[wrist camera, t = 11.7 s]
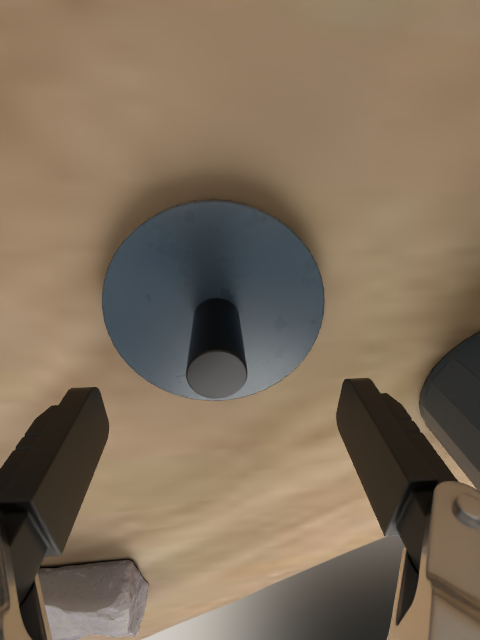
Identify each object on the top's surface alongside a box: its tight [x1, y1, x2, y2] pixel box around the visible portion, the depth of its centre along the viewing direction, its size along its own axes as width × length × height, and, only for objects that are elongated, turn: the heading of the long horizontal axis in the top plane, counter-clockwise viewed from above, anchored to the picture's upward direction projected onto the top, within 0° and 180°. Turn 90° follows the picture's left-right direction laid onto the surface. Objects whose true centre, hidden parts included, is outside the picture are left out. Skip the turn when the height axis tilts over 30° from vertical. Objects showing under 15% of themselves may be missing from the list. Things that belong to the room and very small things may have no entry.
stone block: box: [37, 560, 148, 640], centre depth 29 cm, size 12×5×10 cm
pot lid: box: [102, 200, 325, 401], centre depth 14 cm, size 12×12×6 cm
